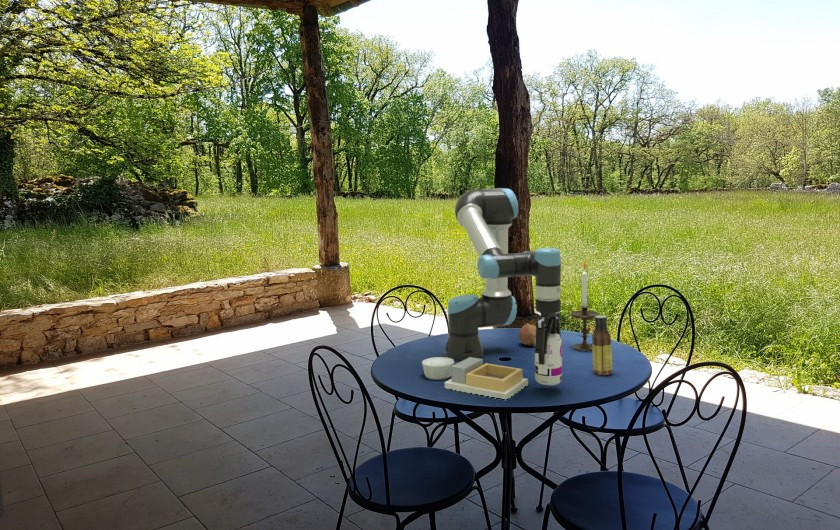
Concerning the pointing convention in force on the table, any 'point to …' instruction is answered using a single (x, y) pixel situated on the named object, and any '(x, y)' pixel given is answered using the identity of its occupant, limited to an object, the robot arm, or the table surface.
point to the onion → (528, 334)
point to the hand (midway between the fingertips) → (548, 369)
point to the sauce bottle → (601, 347)
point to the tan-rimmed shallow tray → (486, 379)
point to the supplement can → (551, 362)
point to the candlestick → (584, 316)
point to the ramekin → (438, 367)
